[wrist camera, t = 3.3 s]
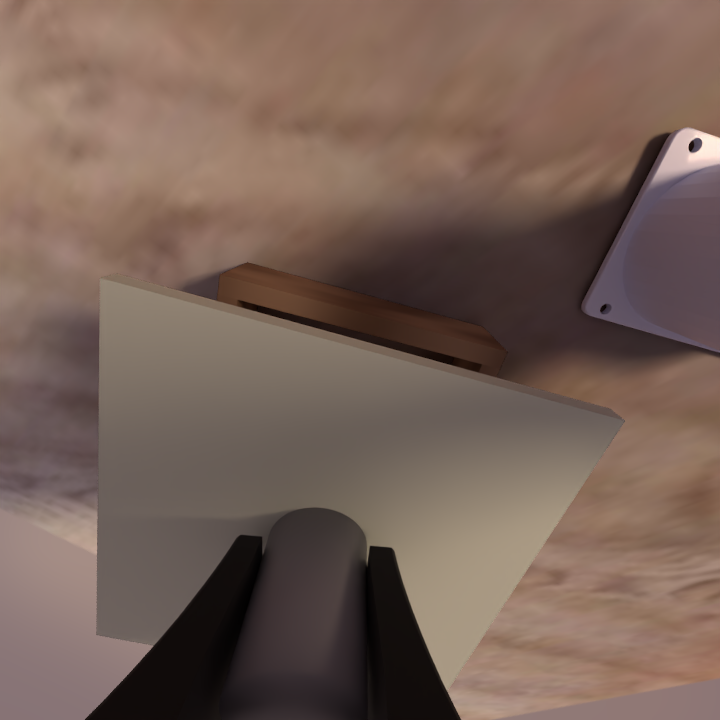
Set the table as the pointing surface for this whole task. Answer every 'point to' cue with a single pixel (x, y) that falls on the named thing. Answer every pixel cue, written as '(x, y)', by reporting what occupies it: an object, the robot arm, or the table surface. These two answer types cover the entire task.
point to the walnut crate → (362, 315)
